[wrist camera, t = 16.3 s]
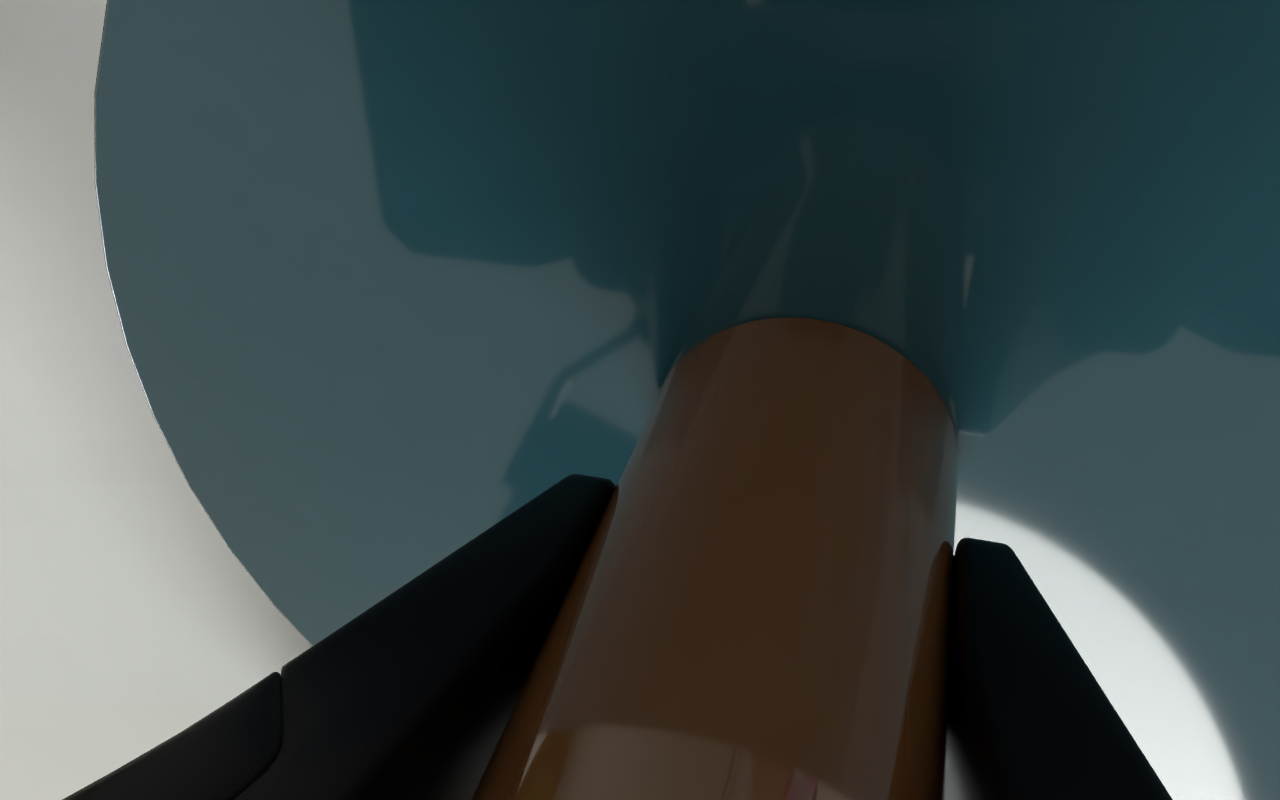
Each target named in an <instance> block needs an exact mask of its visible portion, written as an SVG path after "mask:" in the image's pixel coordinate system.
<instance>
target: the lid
mask: <svg viewBox="0 0 1280 800" xmlns="http://www.w3.org/2000/svg"><path fill="white" fill-rule="evenodd" d="M95 188H96V195H97V203H98V210H99V218H100V225H101V233H102V241H103V248H104V256H105V263H106V269H107V272H108V276H109V280H110V284H111V288H112V292H113V296H114V300H115V304H116V307H117V311H118V315H119V319H120V323H121V327H122V331H123V335H124V338H125V342H126V346H127V348H128V351H129V354H130V356H131V359H132V361H133V364H134V367H135V369H136V372H137V374H138V377H139V380H140V382H141V385H142V388H143V390H144V393H145V395H146V398H147V401H148V403H149V406H150V408H151V411H152V414H153V416H154V419H155V421H156V423H157V425H158V426H159V428H160V430H161V432H162V434H163V436H164V438H165V440H166V442H167V444H168V446H169V448H170V450H171V452H172V454H173V456H174V458H175V460H176V462H177V464H178V466H179V468H180V470H181V472H182V474H183V475H184V477H185V479H186V481H187V483H188V485H189V487H190V488H191V490H192V492H193V493H194V495H195V496H196V498H197V499H198V501H199V502H200V504H201V506H202V507H203V509H204V510H205V512H206V513H207V515H208V516H209V518H210V520H211V521H212V523H213V524H214V526H215V527H216V529H217V530H218V532H219V534H220V535H221V537H222V538H223V540H224V541H225V543H226V544H227V546H228V548H229V549H230V550H231V551H232V553H233V554H234V555H235V557H236V558H237V559H238V560H239V562H240V563H241V564H242V565H243V567H244V568H245V569H246V571H247V572H248V573H249V574H250V576H251V577H252V578H253V580H254V581H255V582H256V583H257V585H258V586H259V587H260V588H261V590H262V591H263V592H264V594H265V595H266V596H267V597H268V599H269V600H270V601H271V602H272V604H273V605H274V606H275V607H276V608H277V609H278V610H279V611H280V612H281V614H282V615H283V616H284V617H285V618H286V619H287V620H288V621H289V622H290V623H291V624H292V625H293V626H294V627H295V628H296V630H297V631H298V632H299V633H300V634H301V635H302V636H303V637H304V638H305V639H306V640H307V641H308V642H309V643H310V644H311V646H314V645H315V644H317V643H318V642H320V641H321V640H323V639H324V638H326V637H327V636H329V635H330V634H332V633H333V632H335V631H336V630H338V629H339V628H341V627H342V626H344V625H345V624H347V623H348V622H350V621H351V620H353V619H354V618H356V617H357V616H359V615H360V614H362V613H363V612H365V611H366V610H368V609H369V608H371V607H372V606H374V605H375V604H377V603H378V602H380V601H381V600H383V599H384V598H386V597H387V596H389V595H390V594H392V593H393V592H395V591H396V590H398V589H399V588H401V587H402V586H404V585H405V584H407V583H408V582H410V581H411V580H413V579H414V578H416V577H417V576H419V575H420V574H422V573H423V572H425V571H426V570H428V569H429V568H431V567H432V566H434V565H435V564H437V563H438V562H440V561H441V560H442V559H444V558H445V557H447V556H448V555H450V554H451V553H453V552H454V551H456V550H457V549H459V548H460V547H462V546H463V545H465V544H466V543H468V542H469V541H471V540H472V539H474V538H475V537H477V536H478V535H480V534H481V533H483V532H484V531H486V530H487V529H489V528H490V527H492V526H493V525H495V524H496V523H498V522H499V521H501V520H502V519H504V518H505V517H507V516H508V515H510V514H511V513H513V512H514V511H516V510H517V509H519V508H520V507H522V506H523V505H525V504H526V503H528V502H529V501H531V500H532V499H534V498H535V497H537V496H538V495H540V494H541V493H543V492H544V491H546V490H547V489H549V488H550V487H552V486H553V485H555V484H556V483H558V482H559V481H561V480H562V479H564V478H565V477H567V476H569V475H572V474H582V475H588V476H594V477H600V478H606V479H610V480H611V481H612V482H613V483H614V484H615V486H616V487H615V489H614V491H613V494H612V496H611V498H610V500H609V502H608V504H607V507H606V509H605V511H604V513H603V515H602V517H601V520H600V522H599V524H598V526H597V528H596V530H595V533H594V535H593V537H592V539H591V541H590V543H589V546H588V548H587V550H586V552H585V554H584V556H583V559H582V561H581V563H580V565H579V567H578V569H577V572H576V574H575V576H574V578H573V580H572V582H571V585H570V587H569V589H568V591H567V593H566V595H565V598H564V600H563V602H562V604H561V606H560V608H559V611H558V613H557V615H556V617H555V619H554V621H553V624H552V626H551V628H550V630H549V632H548V635H547V637H546V639H545V641H544V643H543V645H542V648H541V650H540V652H539V654H538V656H537V658H536V661H535V663H534V665H533V667H532V669H531V671H530V674H529V676H528V678H527V680H526V682H525V684H524V687H523V689H522V691H521V693H520V695H519V697H518V700H517V702H516V704H515V706H514V708H513V710H512V713H511V715H510V717H509V719H508V721H507V723H506V726H505V728H504V730H503V732H502V734H501V736H500V739H499V741H498V743H497V745H496V747H495V749H494V752H493V754H492V756H491V758H490V760H489V762H488V765H487V767H486V769H485V771H484V773H483V775H482V778H481V780H480V782H479V784H478V786H477V788H476V791H475V793H474V795H473V797H472V799H471V800H945V776H946V751H947V725H948V701H949V675H950V646H951V621H952V596H953V571H954V554H955V550H956V547H957V544H958V542H959V541H960V540H961V539H963V538H973V539H980V540H986V541H992V542H998V543H1003V544H1006V545H1008V546H1009V547H1010V548H1012V550H1013V551H1014V552H1015V554H1016V556H1017V557H1018V559H1019V560H1020V562H1021V563H1022V565H1023V567H1024V568H1025V570H1026V571H1027V573H1028V574H1029V576H1030V577H1031V579H1032V581H1033V582H1034V584H1035V585H1036V587H1037V588H1038V590H1039V591H1040V593H1041V595H1042V596H1043V598H1044V599H1045V601H1046V602H1047V604H1048V606H1049V607H1050V609H1051V610H1052V612H1053V613H1054V615H1055V616H1056V618H1057V620H1058V621H1059V623H1060V624H1061V626H1062V627H1063V629H1064V631H1065V632H1066V634H1067V635H1068V637H1069V638H1070V640H1071V641H1072V643H1073V645H1074V646H1075V648H1076V649H1077V651H1078V652H1079V654H1080V656H1081V657H1082V659H1083V660H1084V662H1085V663H1086V665H1087V666H1088V668H1089V670H1090V671H1091V673H1092V674H1093V676H1094V677H1095V679H1096V681H1097V682H1098V684H1099V685H1100V687H1101V688H1102V690H1103V691H1104V693H1105V695H1106V696H1107V698H1108V699H1109V701H1110V702H1111V704H1112V706H1113V707H1114V709H1115V710H1116V712H1117V713H1118V715H1119V716H1120V718H1121V720H1122V721H1123V723H1124V724H1125V726H1126V727H1127V729H1128V731H1129V732H1130V734H1131V735H1132V737H1133V738H1134V740H1135V741H1136V743H1137V745H1138V746H1139V748H1140V749H1141V751H1142V752H1143V754H1144V755H1145V757H1146V759H1147V760H1148V762H1149V763H1150V765H1151V766H1152V768H1153V770H1154V771H1155V773H1156V774H1157V776H1158V777H1159V779H1160V780H1161V782H1162V784H1163V785H1164V787H1165V788H1166V790H1167V791H1168V793H1169V795H1170V796H1171V798H1172V799H1173V800H1280V0H107V5H106V12H105V20H104V27H103V34H102V42H101V49H100V56H99V64H98V71H97V79H96V86H95Z"/></svg>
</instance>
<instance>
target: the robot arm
mask: <svg viewBox="0 0 1280 800" xmlns="http://www.w3.org/2000/svg"><path fill="white" fill-rule="evenodd" d="M615 487H616V486H615V484H614V483H613V482H612V481H611V480H610V479H606V478H600V477H594V476H588V475H582V474H572V475H569V476H567V477H565V478H564V479H562V480H561V481H559V482H558V483H556V484H555V485H553V486H552V487H550V488H549V489H547V490H546V491H544V492H543V493H541V494H540V495H538V496H537V497H535V498H534V499H532V500H531V501H529V502H528V503H526V504H525V505H523V506H522V507H520V508H519V509H517V510H516V511H514V512H513V513H511V514H510V515H508V516H507V517H505V518H504V519H502V520H501V521H499V522H498V523H496V524H495V525H493V526H492V527H490V528H489V529H487V530H486V531H484V532H483V533H481V534H480V535H478V536H477V537H475V538H474V539H472V540H471V541H469V542H468V543H466V544H465V545H463V546H462V547H460V548H459V549H457V550H456V551H454V552H453V553H451V554H450V555H448V556H447V557H445V558H444V559H442V560H441V561H440V562H438V563H437V564H435V565H434V566H432V567H431V568H429V569H428V570H426V571H425V572H423V573H422V574H420V575H419V576H417V577H416V578H414V579H413V580H411V581H410V582H408V583H407V584H405V585H404V586H402V587H401V588H399V589H398V590H396V591H395V592H393V593H392V594H390V595H389V596H387V597H386V598H384V599H383V600H381V601H380V602H378V603H377V604H375V605H374V606H372V607H371V608H369V609H368V610H366V611H365V612H363V613H362V614H360V615H359V616H357V617H356V618H354V619H353V620H351V621H350V622H348V623H347V624H345V625H344V626H342V627H341V628H339V629H338V630H336V631H335V632H333V633H332V634H330V635H329V636H327V637H326V638H324V639H323V640H321V641H320V642H318V643H317V644H315V645H314V646H312V647H311V648H309V649H308V650H306V651H305V652H303V653H302V654H300V655H299V656H298V657H296V658H295V659H293V660H292V661H290V662H289V663H287V664H286V665H284V666H283V667H282V669H281V674H279V673H278V672H273V673H272V674H270V675H269V676H267V677H266V678H264V679H263V680H261V681H260V682H258V683H257V684H255V685H254V686H252V687H251V688H249V689H248V690H246V691H245V692H243V693H242V694H240V695H239V696H237V697H236V698H234V699H232V700H231V701H229V702H228V703H226V704H225V705H223V706H221V707H220V708H218V709H217V710H215V711H214V712H212V713H210V714H209V715H207V716H206V717H204V718H203V719H201V720H199V721H198V722H196V723H195V724H193V725H192V726H190V727H188V728H187V729H185V730H184V731H182V732H181V733H179V734H177V735H175V736H174V737H172V738H170V739H168V740H167V741H165V742H163V743H162V744H160V745H158V746H156V747H155V748H153V749H151V750H149V751H148V752H146V753H144V754H143V755H141V756H139V757H137V758H136V759H134V760H132V761H131V762H129V763H127V764H125V765H124V766H122V767H120V768H118V769H117V770H115V771H113V772H111V773H110V774H108V775H106V776H104V777H102V778H101V779H99V780H97V781H95V782H93V783H92V784H90V785H88V786H86V787H84V788H83V789H81V790H79V791H77V792H75V793H74V794H72V795H70V796H68V797H66V798H65V799H63V800H471V799H472V797H473V795H474V793H475V791H476V788H477V786H478V784H479V782H480V780H481V778H482V775H483V773H484V771H485V769H486V767H487V765H488V762H489V760H490V758H491V756H492V754H493V752H494V749H495V747H496V745H497V743H498V741H499V739H500V736H501V734H502V732H503V730H504V728H505V726H506V723H507V721H508V719H509V717H510V715H511V713H512V710H513V708H514V706H515V704H516V702H517V700H518V697H519V695H520V693H521V691H522V689H523V687H524V684H525V682H526V680H527V678H528V676H529V674H530V671H531V669H532V667H533V665H534V663H535V661H536V658H537V656H538V654H539V652H540V650H541V648H542V645H543V643H544V641H545V639H546V637H547V635H548V632H549V630H550V628H551V626H552V624H553V621H554V619H555V617H556V615H557V613H558V611H559V608H560V606H561V604H562V602H563V600H564V598H565V595H566V593H567V591H568V589H569V587H570V585H571V582H572V580H573V578H574V576H575V574H576V572H577V569H578V567H579V565H580V563H581V561H582V559H583V556H584V554H585V552H586V550H587V548H588V546H589V543H590V541H591V539H592V537H593V535H594V533H595V530H596V528H597V526H598V524H599V522H600V520H601V517H602V515H603V513H604V511H605V509H606V507H607V504H608V502H609V500H610V498H611V496H612V494H613V491H614V489H615ZM945 800H1173V799H1172V798H1171V796H1170V795H1169V793H1168V791H1167V790H1166V788H1165V787H1164V785H1163V784H1162V782H1161V780H1160V779H1159V777H1158V776H1157V774H1156V773H1155V771H1154V770H1153V768H1152V766H1151V765H1150V763H1149V762H1148V760H1147V759H1146V757H1145V755H1144V754H1143V752H1142V751H1141V749H1140V748H1139V746H1138V745H1137V743H1136V741H1135V740H1134V738H1133V737H1132V735H1131V734H1130V732H1129V731H1128V729H1127V727H1126V726H1125V724H1124V723H1123V721H1122V720H1121V718H1120V716H1119V715H1118V713H1117V712H1116V710H1115V709H1114V707H1113V706H1112V704H1111V702H1110V701H1109V699H1108V698H1107V696H1106V695H1105V693H1104V691H1103V690H1102V688H1101V687H1100V685H1099V684H1098V682H1097V681H1096V679H1095V677H1094V676H1093V674H1092V673H1091V671H1090V670H1089V668H1088V666H1087V665H1086V663H1085V662H1084V660H1083V659H1082V657H1081V656H1080V654H1079V652H1078V651H1077V649H1076V648H1075V646H1074V645H1073V643H1072V641H1071V640H1070V638H1069V637H1068V635H1067V634H1066V632H1065V631H1064V629H1063V627H1062V626H1061V624H1060V623H1059V621H1058V620H1057V618H1056V616H1055V615H1054V613H1053V612H1052V610H1051V609H1050V607H1049V606H1048V604H1047V602H1046V601H1045V599H1044V598H1043V596H1042V595H1041V593H1040V591H1039V590H1038V588H1037V587H1036V585H1035V584H1034V582H1033V581H1032V579H1031V577H1030V576H1029V574H1028V573H1027V571H1026V570H1025V568H1024V567H1023V565H1022V563H1021V562H1020V560H1019V559H1018V557H1017V556H1016V554H1015V552H1014V551H1013V550H1012V548H1010V547H1009V546H1008V545H1006V544H1003V543H998V542H992V541H986V540H980V539H973V538H963V539H961V540H960V541H959V542H958V544H957V547H956V550H955V554H954V571H953V596H952V621H951V646H950V675H949V701H948V725H947V751H946V776H945Z"/></svg>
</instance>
